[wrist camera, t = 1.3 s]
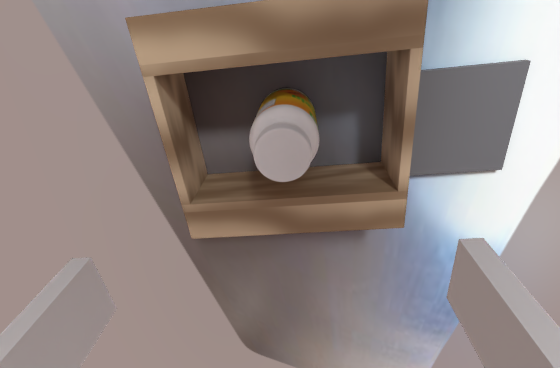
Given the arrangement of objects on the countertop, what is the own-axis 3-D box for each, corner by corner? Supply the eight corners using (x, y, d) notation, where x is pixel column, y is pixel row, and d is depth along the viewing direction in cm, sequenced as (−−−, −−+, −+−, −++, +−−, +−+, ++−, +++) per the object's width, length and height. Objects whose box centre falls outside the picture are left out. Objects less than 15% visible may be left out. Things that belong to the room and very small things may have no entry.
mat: (403, 71, 27) (405, 73, 26) (525, 59, 26) (530, 60, 25) (395, 174, 31) (396, 176, 31) (498, 166, 30) (501, 169, 30)
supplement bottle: (327, 117, 29) (339, 159, 21) (285, 153, 31) (281, 204, 22) (288, 74, 27) (284, 99, 19) (247, 114, 29) (226, 154, 21)
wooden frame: (160, 17, 26) (125, 17, 20) (400, -12, 24) (430, -21, 19) (208, 204, 34) (191, 238, 29) (386, 193, 33) (403, 227, 27)
